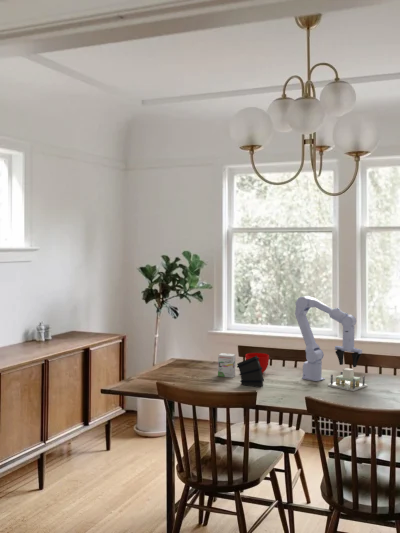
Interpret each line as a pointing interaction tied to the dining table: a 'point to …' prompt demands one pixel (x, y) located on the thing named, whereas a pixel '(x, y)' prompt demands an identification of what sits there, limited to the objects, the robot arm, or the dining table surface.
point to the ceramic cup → (260, 359)
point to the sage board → (348, 375)
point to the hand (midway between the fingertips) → (347, 365)
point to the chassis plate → (347, 384)
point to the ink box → (226, 365)
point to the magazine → (251, 372)
